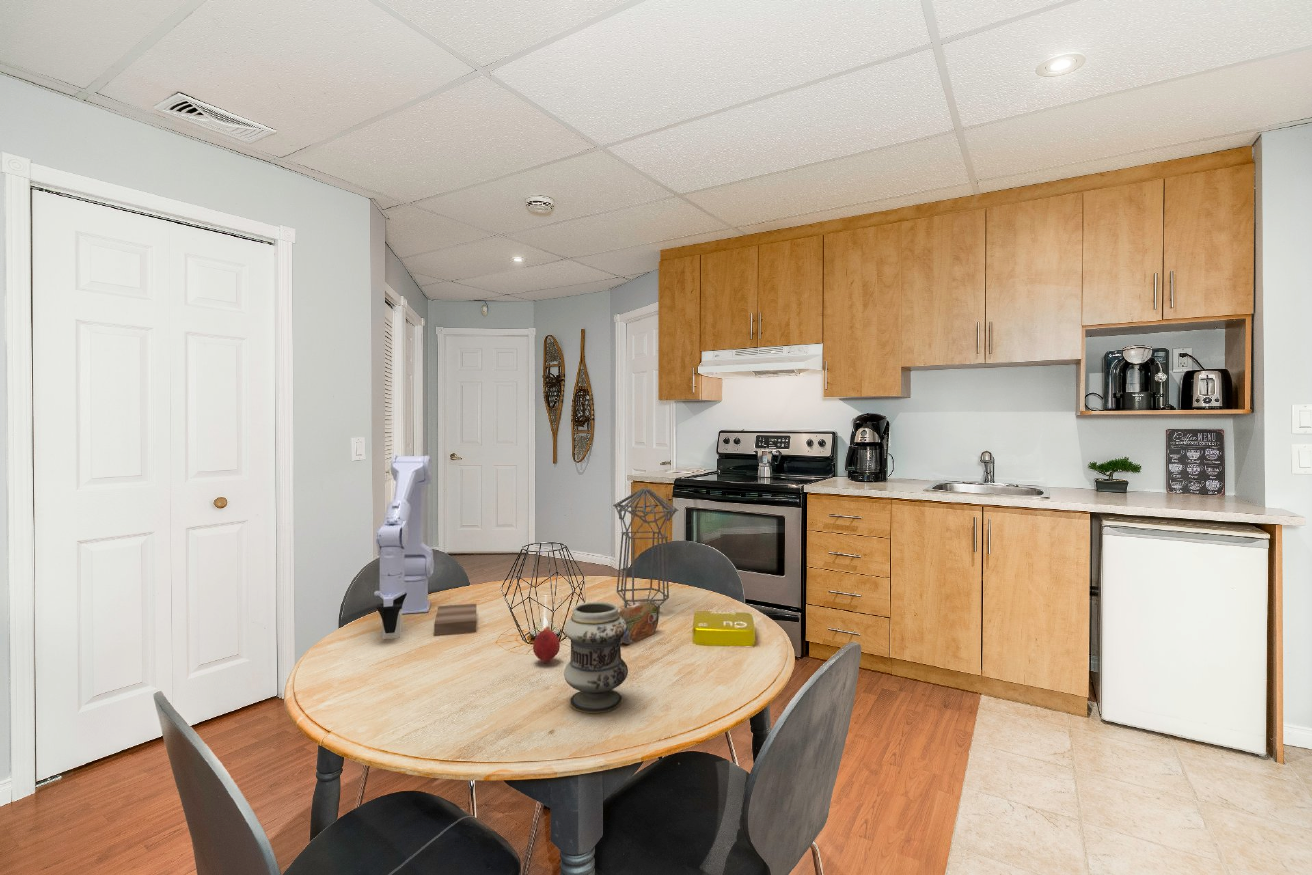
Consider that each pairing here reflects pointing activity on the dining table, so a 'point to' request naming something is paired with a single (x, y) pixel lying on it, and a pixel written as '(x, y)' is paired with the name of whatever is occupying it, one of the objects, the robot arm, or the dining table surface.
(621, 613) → the tin
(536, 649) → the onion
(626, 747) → the dining table surface
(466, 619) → the plinth
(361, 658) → the dining table surface
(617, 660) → the apothecary jar
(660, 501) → the geometric lantern
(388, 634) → the block
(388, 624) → the robot arm
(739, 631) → the element tile
